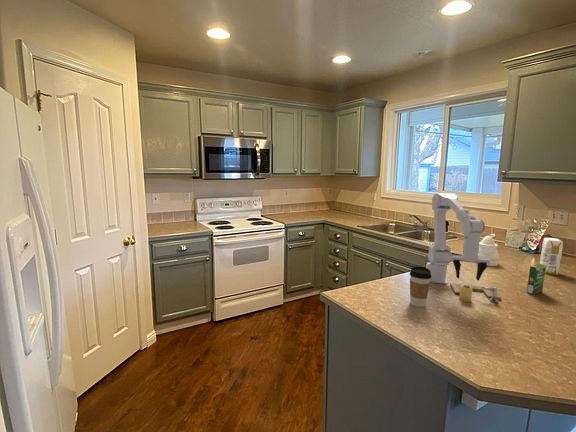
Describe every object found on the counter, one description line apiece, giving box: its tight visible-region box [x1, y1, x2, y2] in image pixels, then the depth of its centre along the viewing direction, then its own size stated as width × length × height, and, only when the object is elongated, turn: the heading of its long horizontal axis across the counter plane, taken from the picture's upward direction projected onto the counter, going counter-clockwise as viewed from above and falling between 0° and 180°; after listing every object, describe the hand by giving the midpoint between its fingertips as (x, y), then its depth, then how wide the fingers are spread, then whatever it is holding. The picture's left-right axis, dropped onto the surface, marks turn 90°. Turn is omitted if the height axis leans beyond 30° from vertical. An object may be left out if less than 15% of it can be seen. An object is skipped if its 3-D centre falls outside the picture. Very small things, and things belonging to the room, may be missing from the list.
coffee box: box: [526, 263, 546, 295], centre depth 146 cm, size 8×3×13 cm, turn 115°
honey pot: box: [478, 233, 500, 267], centre depth 193 cm, size 13×13×18 cm
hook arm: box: [480, 286, 500, 304], centre depth 137 cm, size 7×3×6 cm, turn 73°
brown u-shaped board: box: [450, 282, 502, 301], centre depth 146 cm, size 18×12×1 cm, turn 73°
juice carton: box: [539, 237, 564, 276], centre depth 177 cm, size 8×9×19 cm
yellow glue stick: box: [458, 284, 473, 303], centre depth 137 cm, size 4×4×6 cm
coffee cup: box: [409, 266, 432, 308], centre depth 131 cm, size 8×8×15 cm
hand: (467, 278), depth 136 cm, fingers open, 7 cm apart
